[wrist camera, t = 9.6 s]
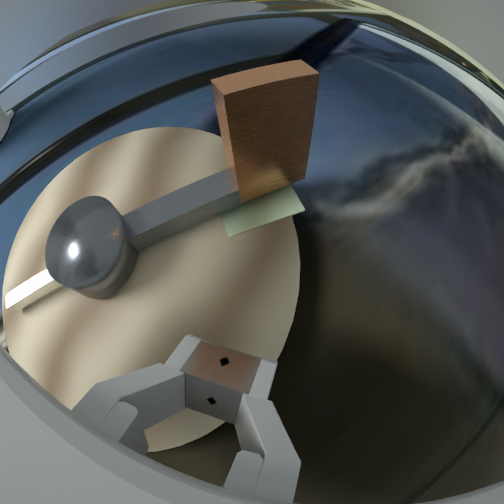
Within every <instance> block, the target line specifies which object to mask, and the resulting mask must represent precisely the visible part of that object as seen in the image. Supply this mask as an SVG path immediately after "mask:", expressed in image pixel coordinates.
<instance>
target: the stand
mask: <svg viewBox="0 0 504 504" xmlns="http://www.w3.org/2000/svg"><path fill="white" fill-rule="evenodd" d="M225 169H228V167H227V162H226V157H225V152H224V147H223V142H222V137H219V136H217V135H215V134H212V133H208V132H204V131H201V130H197V129H190V128H183V127H158V128H149V129H143V130H139V131H134V132H130V133H127V134H124V135H121V136H118V137H115V138H113V139H111V140H108V141H106V142H104V143H102V144H100V145H98V146H96V147H94V148H92V149H91V150H89V151H87V152H86V153H84V154H83V155H81V156H80V157H78V158H77V159H76V160H74V161H73V162H72V163H70V164H69V165H68V166H67V167H66V168H65V169H63V170H62V171H61V172H60V173H59V174H58V175H57V176H56V177H55V178H54V179H53V180H52V181H51V182H50V183H49V184H48V185H47V187H46V188H45V189H44V190H43V191H42V193H41V194H40V195H39V197H38V198H37V199H36V201H35V202H34V204H33V205H32V207H31V208H30V210H29V211H28V213H27V215H26V217H25V218H24V220H23V222H22V224H21V226H20V228H19V230H18V233H17V235H16V237H15V240H14V242H13V245H12V248H11V251H10V254H9V258H8V262H7V266H6V271H5V277H4V284H3V297H2V312H3V325H4V331H5V337H6V342H7V346H8V349H9V353H10V356H11V357H12V358H13V359H14V360H15V361H16V362H17V363H18V364H19V365H20V366H21V367H22V368H23V369H24V370H25V371H26V372H27V373H28V374H29V375H30V376H31V377H32V378H33V379H34V380H36V381H37V382H38V383H39V384H40V385H41V386H42V387H43V388H44V389H46V390H47V391H48V392H49V393H50V394H51V395H53V396H54V397H55V398H56V399H58V400H59V401H60V402H61V403H63V404H64V405H65V406H66V407H68V408H69V409H70V410H72V409H73V408H74V407H75V405H76V404H77V403H78V402H79V401H80V400H81V399H82V398H83V397H84V396H85V395H86V393H87V392H88V391H89V390H90V389H91V388H92V387H93V386H94V385H95V384H96V383H98V382H102V381H105V380H108V379H112V378H115V377H118V376H122V375H125V374H128V373H131V372H134V371H137V370H140V369H143V368H146V367H149V366H152V365H155V364H158V363H162V364H165V362H166V361H167V360H168V358H169V357H170V356H171V354H172V353H173V352H174V351H175V349H176V348H177V347H178V345H179V344H180V343H181V341H182V340H183V339H184V337H185V336H186V335H188V334H191V335H194V336H196V337H199V338H201V339H205V340H208V341H211V342H213V343H216V344H219V345H222V346H225V347H228V348H231V349H234V350H238V351H241V352H245V353H248V354H252V355H255V356H259V357H263V358H267V359H270V360H274V361H277V359H278V357H279V355H280V353H281V351H282V350H283V347H284V344H285V342H286V339H287V336H288V333H289V331H290V328H291V325H292V322H293V319H294V314H295V309H296V304H297V299H298V294H299V282H300V255H299V246H298V237H297V233H296V229H295V225H294V222H293V218H292V215H295V214H298V213H301V212H304V211H305V208H304V207H303V205H302V203H301V201H300V200H299V198H298V196H297V194H296V193H295V191H294V189H293V187H292V186H291V184H289V185H287V186H284V187H282V188H279V189H277V190H274V191H271V192H269V193H266V194H264V195H261V196H259V197H257V198H254V199H252V200H249V201H247V202H244V203H242V205H241V206H239V207H236V208H234V209H232V210H229V211H227V212H224V213H222V214H220V215H217V216H215V217H213V218H211V219H208V220H206V221H204V222H201V223H199V224H197V225H195V226H192V227H190V228H188V229H186V230H183V231H181V232H179V233H177V234H175V235H172V236H170V237H168V238H166V239H164V240H162V241H159V242H157V243H155V244H153V245H151V246H149V247H147V248H145V249H143V250H140V251H138V259H137V262H136V266H135V268H134V270H133V272H132V274H131V276H130V278H129V279H128V281H127V282H126V283H125V284H124V285H123V286H122V287H121V288H120V289H119V290H118V291H117V292H115V293H114V294H112V295H110V296H108V297H105V298H101V299H91V298H88V297H85V296H83V295H81V294H79V293H77V292H75V291H73V290H71V289H69V288H68V287H66V286H64V285H63V286H61V287H59V288H57V289H55V290H54V291H52V292H50V293H48V294H46V295H45V296H43V297H41V298H39V299H38V300H36V301H34V302H33V303H31V304H29V305H27V306H26V307H24V308H22V309H21V310H19V311H17V312H14V311H11V310H9V309H6V294H8V293H9V292H11V291H12V290H14V289H15V288H17V287H18V286H20V285H21V284H23V283H24V282H26V281H27V280H29V279H30V278H32V277H33V276H35V275H37V274H38V273H40V272H41V271H43V270H45V269H46V268H47V267H46V262H45V248H46V243H47V239H48V236H49V233H50V231H51V229H52V227H53V225H54V223H55V222H56V220H57V219H58V217H59V216H60V215H61V214H62V213H63V211H64V210H65V209H66V208H68V207H69V206H70V205H71V204H73V203H74V202H76V201H78V200H80V199H82V198H84V197H88V196H101V197H104V198H106V199H108V200H109V201H110V202H111V203H112V204H113V205H114V207H115V208H116V209H117V210H118V211H119V213H120V214H121V215H122V216H123V215H125V214H127V213H129V212H131V211H133V210H135V209H137V208H139V207H141V206H143V205H145V204H147V203H149V202H151V201H154V200H156V199H158V198H160V197H162V196H164V195H166V194H169V193H171V192H173V191H175V190H177V189H180V188H182V187H184V186H187V185H189V184H191V183H194V182H196V181H198V180H201V179H203V178H205V177H208V176H210V175H213V174H215V173H218V172H220V171H223V170H225ZM224 422H226V421H223V420H220V419H217V418H214V417H212V416H209V415H206V414H203V413H200V412H197V411H194V410H192V409H189V408H186V407H185V409H183V410H182V411H180V412H178V413H176V414H174V415H173V416H171V417H169V418H167V419H165V420H163V421H161V422H159V423H157V424H155V425H154V426H152V427H150V428H148V429H146V430H144V433H145V436H146V439H147V442H148V445H149V449H148V451H147V452H156V451H161V450H165V449H170V448H174V447H178V446H181V445H184V444H186V443H188V442H191V441H193V440H196V439H198V438H200V437H202V436H204V435H206V434H208V433H209V432H211V431H212V430H214V429H215V428H217V427H218V426H220V425H221V424H223V423H224Z"/></svg>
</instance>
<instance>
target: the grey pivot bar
mask: <svg viewBox="0 0 504 504" xmlns="http://www.w3.org/2000/svg"><path fill="white" fill-rule="evenodd" d="M319 74H320V73H319V72H317V71H316V70H315V69H313V68H312V67H311V66H309V65H308V64H306V63H305V62H303V61H302V60H295V61H289V62H283V63H277V64H272V65H267V66H262V67H258V68H253V69H249V70H245V71H241V72H237V73H233V74H230V75H226V76H222V77H219V78H216V79H212V80H211V84H212V90H213V95H214V100H215V105H216V111H217V116H218V121H219V126H220V131H221V137H222V142H223V147H224V152H225V157H226V162H227V167H228V169H225V170H223V171H220V172H218V173H215V174H213V175H210V176H208V177H205V178H203V179H201V180H198V181H196V182H194V183H191V184H189V185H187V186H184V187H182V188H180V189H177V190H175V191H173V192H171V193H169V194H166V195H164V196H162V197H160V198H158V199H156V200H154V201H151V202H149V203H147V204H145V205H143V206H141V207H139V208H137V209H135V210H133V211H131V212H129V213H127V214H125V215H123V216H122V215H121V214H120V213H119V211H118V210H117V209H116V208H115V207H114V205H113V204H112V203H111V202H110V201H109V200H108V199H106V198H104V197H101V196H88V197H84V198H82V199H80V200H78V201H76V202H74V203H73V204H71V205H70V206H69V207H68V208H66V209H65V210H64V211H63V213H62V214H61V215H60V216H59V217H58V219H57V220H56V222H55V223H54V225H53V227H52V229H51V231H50V233H49V236H48V239H47V243H46V248H45V262H46V267H47V268H46V269H45V270H43V271H41V272H40V273H38V274H37V275H35V276H33V277H32V278H30V279H29V280H27V281H26V282H24V283H23V284H21V285H20V286H18V287H17V288H15V289H14V290H12V291H11V292H9V293H8V294H6V309H9V310H11V311H14V312H17V311H19V310H21V309H22V308H24V307H26V306H27V305H29V304H31V303H33V302H34V301H36V300H38V299H39V298H41V297H43V296H45V295H46V294H48V293H50V292H52V291H54V290H55V289H57V288H59V287H61V286H63V285H64V286H66V287H68V288H69V289H71V290H73V291H75V292H77V293H79V294H81V295H83V296H85V297H88V298H91V299H101V298H105V297H108V296H110V295H112V294H114V293H115V292H117V291H118V290H119V289H120V288H121V287H122V286H123V285H124V284H125V283H126V282H127V281H128V279H129V278H130V276H131V274H132V272H133V270H134V268H135V266H136V262H137V259H138V251H140V250H143V249H145V248H147V247H149V246H151V245H153V244H155V243H157V242H159V241H162V240H164V239H166V238H168V237H170V236H172V235H175V234H177V233H179V232H181V231H183V230H186V229H188V228H190V227H192V226H195V225H197V224H199V223H201V222H204V221H206V220H208V219H211V218H213V217H215V216H217V215H220V214H222V213H224V212H227V211H229V210H232V209H234V208H236V207H239V206H241V205H242V203H244V202H247V201H249V200H252V199H254V198H257V197H259V196H261V195H264V194H266V193H269V192H271V191H274V190H277V189H279V188H282V187H284V186H287V185H289V184H292V183H295V182H297V181H300V180H303V179H305V175H306V169H307V162H308V156H309V149H310V143H311V136H312V129H313V122H314V114H315V107H316V99H317V91H318V83H319Z"/></svg>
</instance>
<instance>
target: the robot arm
mask: <svg viewBox="0 0 504 504" xmlns="http://www.w3.org/2000/svg"><path fill="white" fill-rule="evenodd" d="M13 115H14V112H13V111H12V110H10V111H9V112H7V113H6V112H5V111H4V110H3V109H2V107H1V106H0V141H1V140H2V138H3V136H4V135H5V133H6V131H7V129H8V127H9V124H10V120H11V118H12V117H13ZM277 364H278V363H277V361H274V360H270V359H267V358H263V357H259V356H255V355H252V354H248V353H245V352H241V351H238V350H234V349H231V348H228V347H225V346H222V345H219V344H216V343H213V342H211V341H208V340H205V339H201V338H199V337H196V336H194V335H191V334H188V335H186V336H185V337H184V339H183V340H182V341H181V343H180V344H179V345H178V347H177V348H176V349H175V351H174V352H173V353H172V354H171V356H170V357H169V358H168V360H167V361H166V362H165V364H162V363H158V364H155V365H152V366H149V367H146V368H143V369H140V370H137V371H134V372H131V373H128V374H125V375H122V376H118V377H115V378H112V379H108V380H105V381H102V382H98V383H96V384H95V385H94V386H93V387H92V388H91V389H90V390H89V391H88V392H87V393H86V395H85V396H84V397H83V398H82V399H81V400H80V401H79V402H78V403H77V404H76V405H75V407H74V408H73V409H72V410H70V409H69V408H68V407H66V406H65V405H64V404H63V403H61V402H60V401H59V400H58V399H56V398H55V397H54V396H53V395H51V394H50V393H49V392H48V391H47V390H46V389H44V388H43V387H42V386H41V385H40V384H39V383H38V382H37V381H36V380H34V379H33V378H32V377H31V376H30V375H29V374H28V373H27V372H26V371H25V370H24V369H23V368H22V367H21V366H20V365H19V364H18V363H17V362H16V361H15V360H14V359H13V358H12V357H11V356H10V354H9V353H8V352H7V351H6V350H5V349H4V348H3V347H2V346H1V344H0V504H297V503H293V498H294V494H295V490H296V485H297V480H298V476H299V471H300V466H301V461H300V459H299V457H298V455H297V453H296V451H295V449H294V447H293V445H292V442H291V440H290V438H289V436H288V434H287V432H286V430H285V428H284V426H283V424H282V421H281V419H280V417H279V415H278V413H277V411H276V409H275V406H274V404H273V402H272V401H269V400H268V396H269V393H270V389H271V386H272V382H273V379H274V375H275V372H276V368H277ZM185 407H186V408H189V409H192V410H194V411H197V412H200V413H203V414H206V415H209V416H212V417H214V418H217V419H220V420H223V421H226V422H228V423H231V424H234V425H235V429H236V432H237V436H238V440H239V443H240V447H241V450H242V451H240V452H237V454H236V457H235V459H234V462H233V464H232V467H231V469H230V472H229V474H228V477H227V479H226V481H225V484H224V486H223V487H220V486H217V485H214V484H211V483H208V482H205V481H202V480H199V479H197V478H194V477H191V476H189V475H186V474H184V473H181V472H179V471H176V470H174V469H172V468H169V467H167V466H165V465H163V464H160V463H158V462H156V461H154V460H152V459H150V458H148V457H146V456H145V454H146V452H147V451H148V449H149V445H148V442H147V439H146V436H145V433H144V430H146V429H148V428H150V427H152V426H154V425H155V424H157V423H159V422H161V421H163V420H165V419H167V418H169V417H171V416H173V415H174V414H176V413H178V412H180V411H182V410H183V409H185ZM415 504H504V480H503V481H500V482H497V483H495V484H492V485H489V486H486V487H483V488H480V489H477V490H474V491H471V492H467V493H464V494H460V495H456V496H452V497H448V498H443V499H439V500H433V501H428V502H422V503H415Z"/></svg>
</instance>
